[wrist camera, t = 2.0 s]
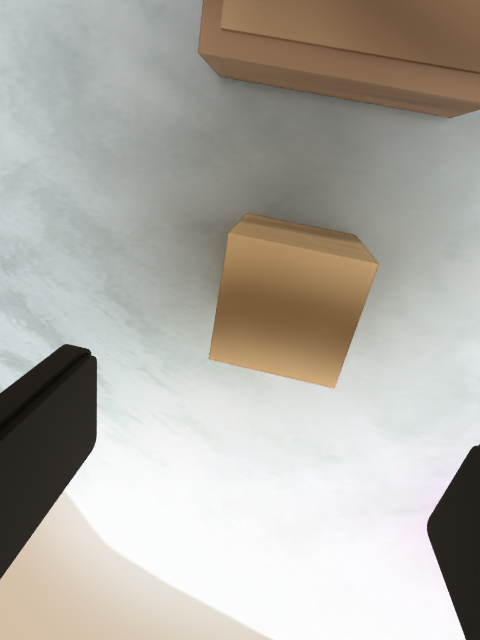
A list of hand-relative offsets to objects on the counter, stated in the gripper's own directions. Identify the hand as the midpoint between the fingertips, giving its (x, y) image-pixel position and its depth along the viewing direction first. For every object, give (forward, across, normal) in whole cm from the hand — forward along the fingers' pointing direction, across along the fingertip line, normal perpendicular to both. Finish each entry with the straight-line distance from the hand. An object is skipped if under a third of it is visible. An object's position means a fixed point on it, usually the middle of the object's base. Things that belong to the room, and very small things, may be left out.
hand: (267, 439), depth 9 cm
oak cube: (+13, 0, 0) cm, 13 cm away
